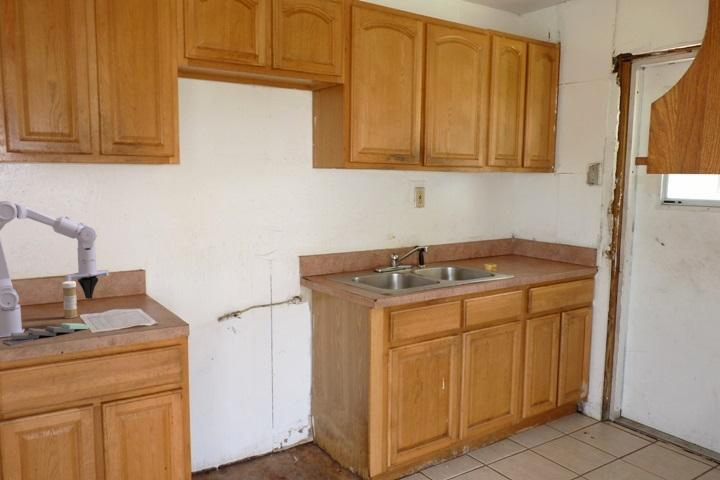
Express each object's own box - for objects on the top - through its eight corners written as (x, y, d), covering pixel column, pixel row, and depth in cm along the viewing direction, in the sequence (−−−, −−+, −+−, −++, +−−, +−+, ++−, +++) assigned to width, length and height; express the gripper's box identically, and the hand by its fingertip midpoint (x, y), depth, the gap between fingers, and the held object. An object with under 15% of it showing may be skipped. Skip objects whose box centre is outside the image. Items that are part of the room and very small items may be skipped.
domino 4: (73, 332, 188) (53, 331, 182) (65, 330, 190) (45, 329, 184) (74, 329, 188) (54, 328, 182) (66, 327, 191) (46, 326, 185)
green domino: (80, 323, 195) (61, 323, 189) (89, 325, 192) (70, 325, 186) (80, 327, 195) (61, 326, 189) (88, 328, 192) (69, 328, 186)
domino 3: (55, 336, 183) (32, 334, 178) (50, 333, 187) (28, 331, 182) (56, 332, 183) (33, 330, 178) (51, 330, 187) (28, 328, 182)
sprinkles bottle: (67, 316, 211) (65, 280, 209) (79, 315, 211) (77, 280, 210) (61, 319, 206) (59, 283, 205) (74, 318, 207) (72, 282, 205)
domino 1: (38, 338, 180) (13, 339, 176) (35, 335, 184) (10, 336, 179) (39, 334, 180) (14, 335, 176) (35, 332, 184) (11, 332, 179)
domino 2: (34, 342, 179) (10, 348, 173) (27, 340, 181) (3, 345, 176) (34, 339, 178) (10, 344, 173) (27, 336, 181) (3, 341, 176)
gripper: (71, 263, 189) (73, 303, 190) (112, 259, 200) (114, 296, 202) (61, 261, 193) (63, 300, 194) (102, 257, 205) (104, 293, 206)
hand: (88, 298), depth 198 cm, fingers closed
